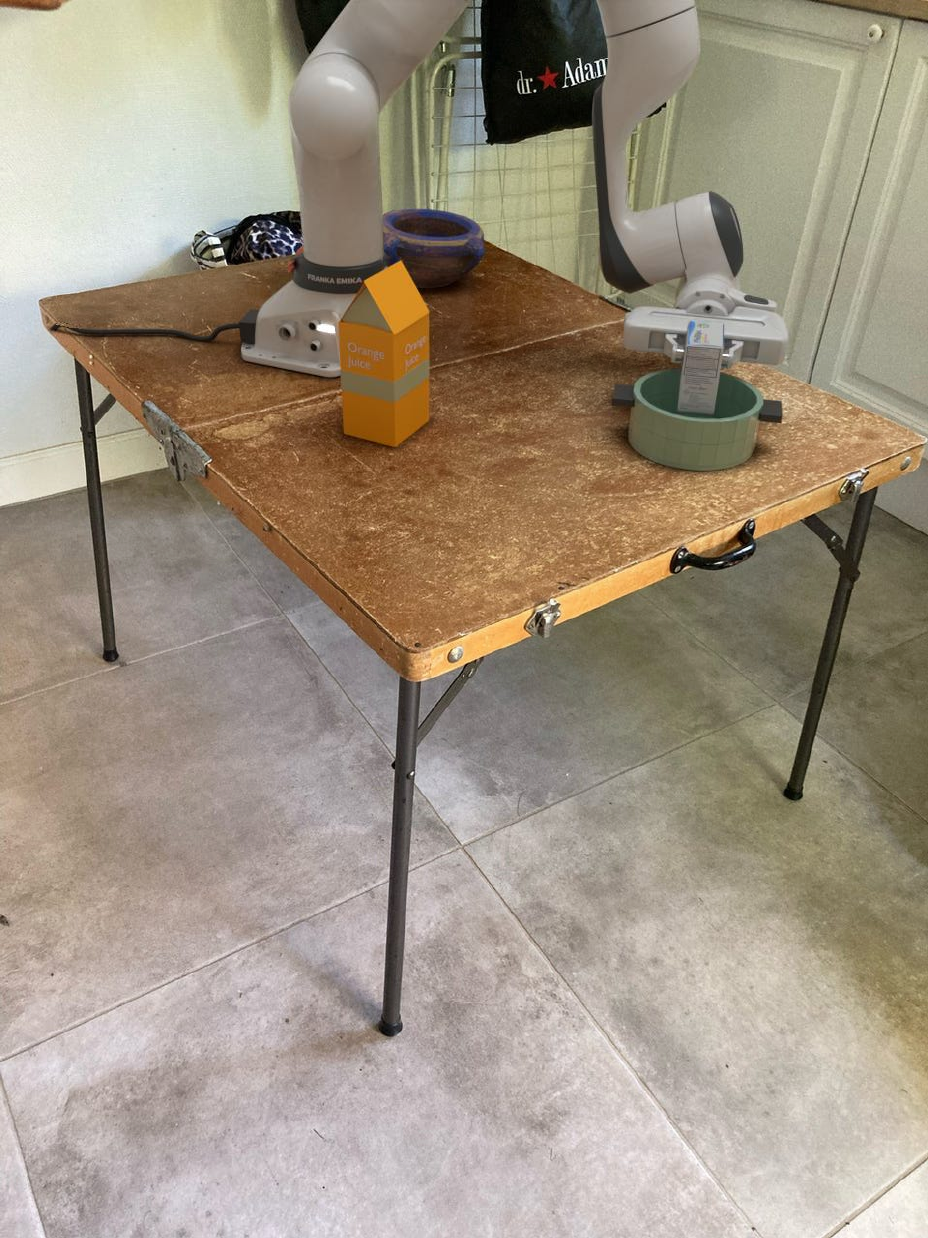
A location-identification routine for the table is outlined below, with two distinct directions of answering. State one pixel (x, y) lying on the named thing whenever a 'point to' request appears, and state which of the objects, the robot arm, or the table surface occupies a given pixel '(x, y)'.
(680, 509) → the table surface
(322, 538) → the table surface
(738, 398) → the pot
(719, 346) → the medicine box
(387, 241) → the bowl
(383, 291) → the orange juice
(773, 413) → the pot handles
